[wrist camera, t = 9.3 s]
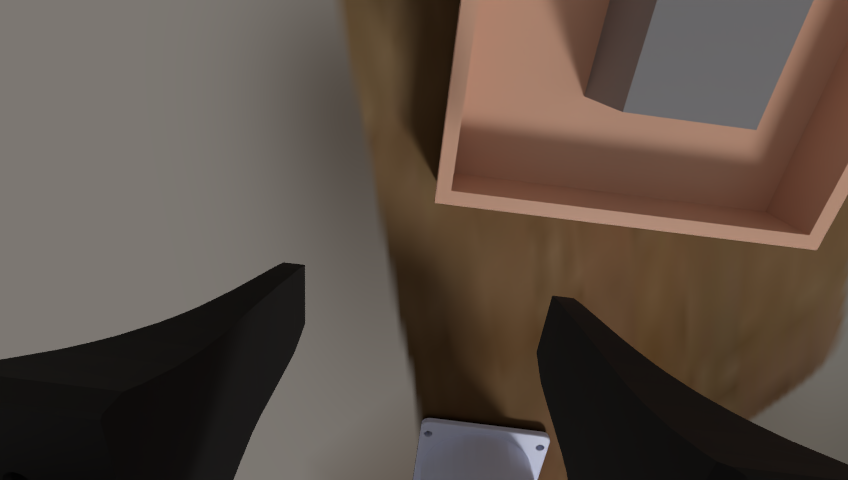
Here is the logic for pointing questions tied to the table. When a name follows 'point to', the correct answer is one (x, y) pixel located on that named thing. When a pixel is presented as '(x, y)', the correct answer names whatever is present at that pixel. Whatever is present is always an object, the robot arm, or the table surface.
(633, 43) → the grey block
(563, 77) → the terracotta bin
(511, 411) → the table surface
